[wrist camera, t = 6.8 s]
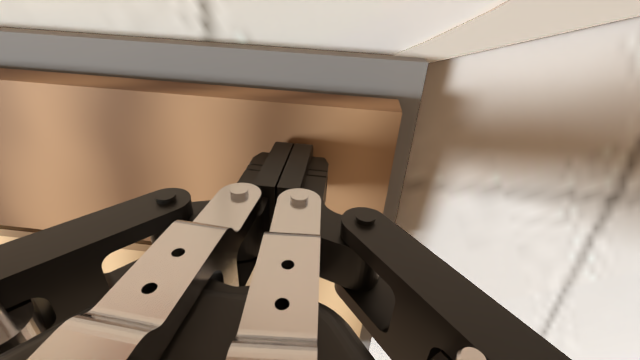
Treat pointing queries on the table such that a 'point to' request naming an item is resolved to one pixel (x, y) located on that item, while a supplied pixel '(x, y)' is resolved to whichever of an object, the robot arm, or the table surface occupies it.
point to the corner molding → (521, 25)
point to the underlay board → (232, 74)
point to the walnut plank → (173, 141)
